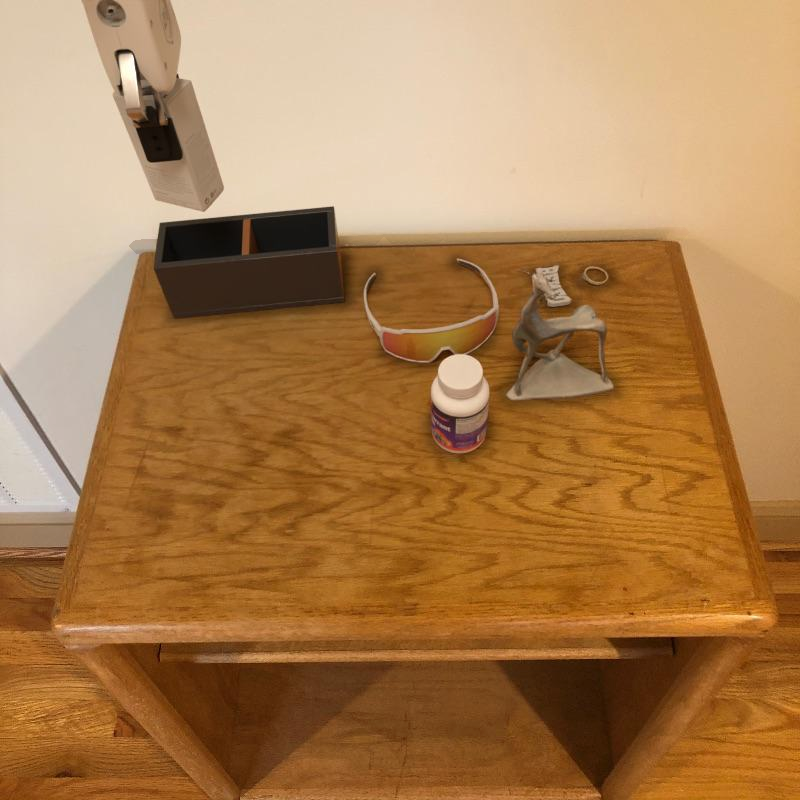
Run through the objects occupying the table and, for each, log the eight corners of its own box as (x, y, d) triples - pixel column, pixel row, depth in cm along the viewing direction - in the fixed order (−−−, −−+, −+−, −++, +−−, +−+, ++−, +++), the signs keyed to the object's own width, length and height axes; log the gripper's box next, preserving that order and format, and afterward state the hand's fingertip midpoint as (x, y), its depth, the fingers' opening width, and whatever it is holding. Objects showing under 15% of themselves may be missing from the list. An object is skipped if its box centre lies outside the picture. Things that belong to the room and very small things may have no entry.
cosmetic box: (226, 188, 79) (196, 77, 69) (203, 216, 77) (169, 104, 67) (174, 176, 81) (138, 65, 71) (150, 202, 78) (109, 91, 69)
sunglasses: (379, 378, 81) (375, 342, 77) (358, 292, 92) (353, 256, 88) (512, 354, 82) (513, 317, 79) (475, 271, 93) (475, 236, 89)
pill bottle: (423, 420, 78) (420, 358, 70) (472, 403, 79) (475, 340, 71) (444, 463, 75) (444, 403, 67) (495, 444, 76) (501, 383, 68)
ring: (613, 278, 87) (589, 282, 87) (610, 284, 88) (587, 289, 87) (602, 262, 89) (578, 266, 88) (600, 268, 90) (576, 272, 89)
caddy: (173, 318, 88) (152, 268, 81) (178, 273, 92) (159, 222, 86) (344, 302, 88) (336, 250, 82) (341, 258, 92) (334, 205, 86)
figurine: (605, 347, 82) (632, 240, 70) (615, 397, 79) (646, 292, 66) (501, 351, 83) (510, 245, 71) (506, 400, 79) (517, 296, 67)
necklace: (556, 265, 90) (514, 270, 89) (557, 261, 89) (515, 266, 89) (573, 307, 86) (528, 312, 85) (574, 303, 85) (529, 308, 85)
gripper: (139, -19, 54) (203, 192, 68) (162, -121, 64) (214, 81, 78) (29, -10, 53) (117, 200, 68) (70, -113, 64) (139, 88, 78)
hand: (168, 135), depth 73 cm, fingers closed on cosmetic box, 6 cm apart
